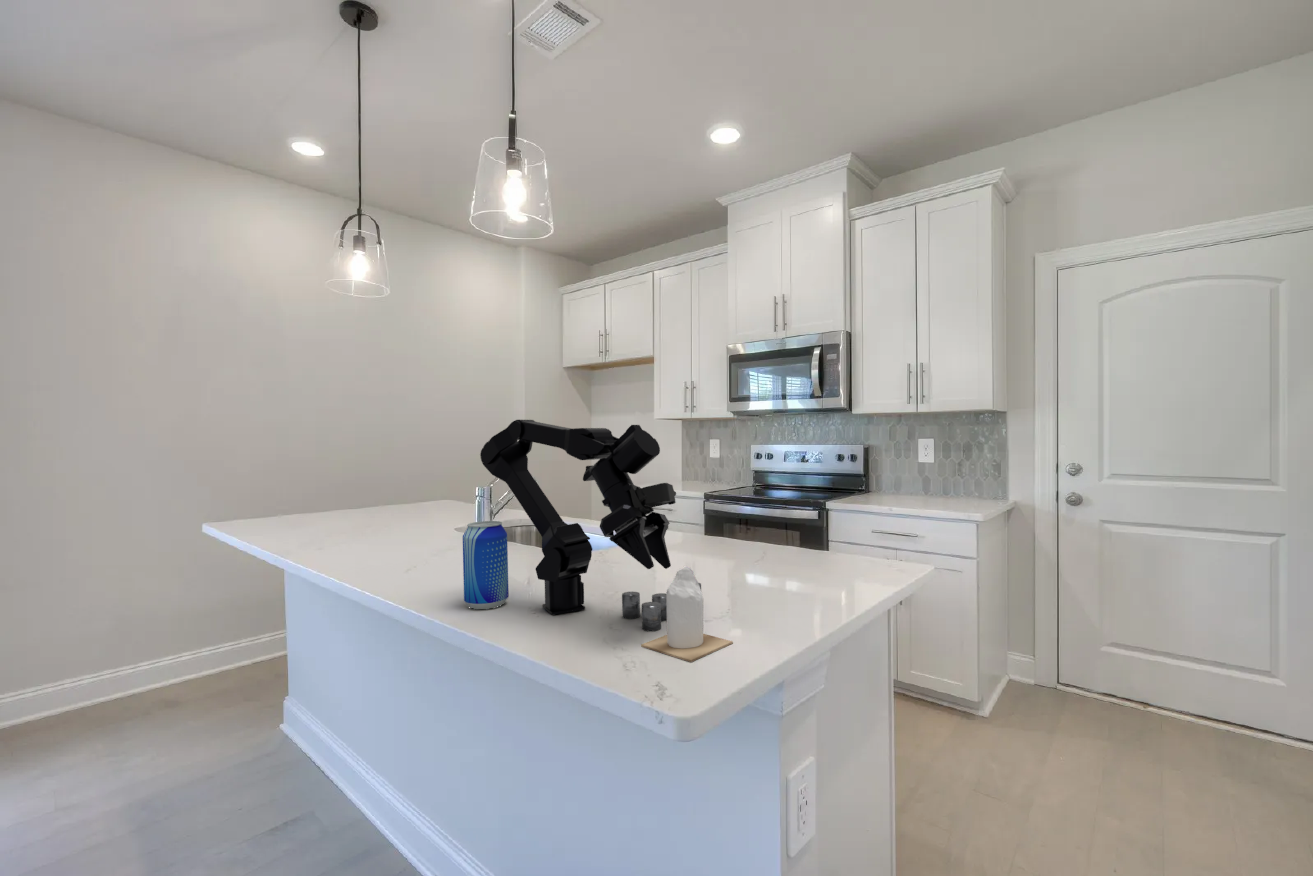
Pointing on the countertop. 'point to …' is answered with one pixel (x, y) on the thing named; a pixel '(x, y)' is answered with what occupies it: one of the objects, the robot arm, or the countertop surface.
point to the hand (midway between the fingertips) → (660, 567)
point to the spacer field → (646, 609)
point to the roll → (684, 610)
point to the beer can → (485, 565)
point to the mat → (688, 654)
